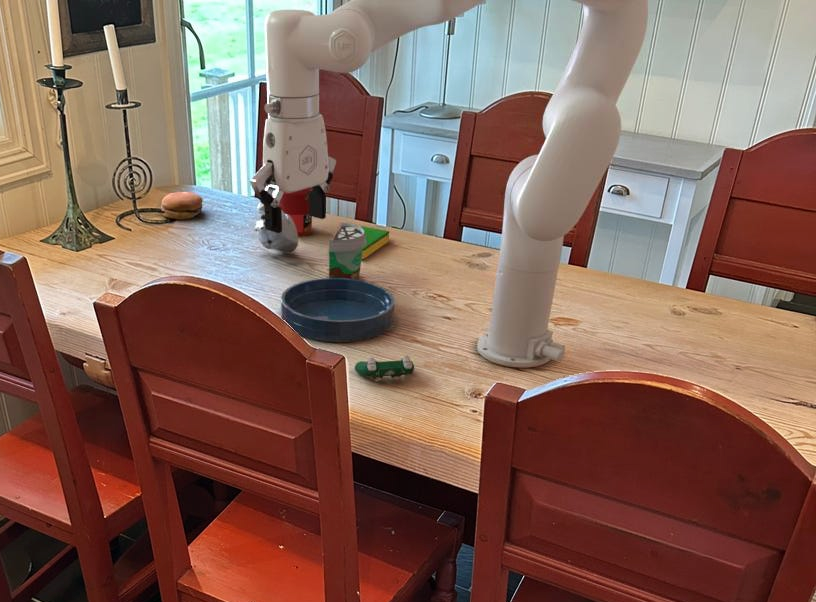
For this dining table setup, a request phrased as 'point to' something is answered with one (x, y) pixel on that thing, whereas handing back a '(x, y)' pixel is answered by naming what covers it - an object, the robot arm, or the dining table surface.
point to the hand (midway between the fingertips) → (296, 223)
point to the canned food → (298, 210)
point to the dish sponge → (374, 240)
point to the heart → (277, 241)
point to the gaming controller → (385, 368)
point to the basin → (338, 309)
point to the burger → (181, 205)
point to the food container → (346, 252)
